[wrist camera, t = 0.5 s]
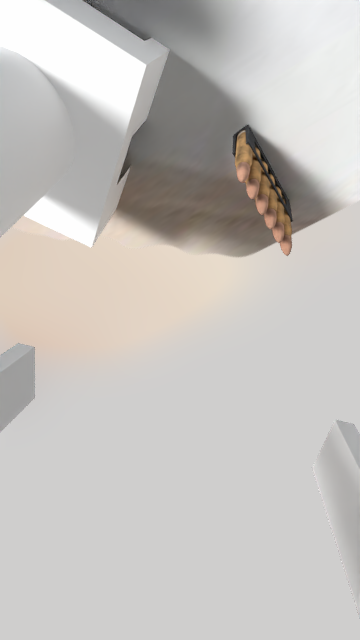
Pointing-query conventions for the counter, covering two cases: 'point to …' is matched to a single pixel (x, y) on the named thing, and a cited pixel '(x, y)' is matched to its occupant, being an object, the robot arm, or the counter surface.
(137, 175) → the counter surface
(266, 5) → the counter surface
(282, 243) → the ammunition clip
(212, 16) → the counter surface
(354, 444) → the robot arm
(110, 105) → the paper towel holder
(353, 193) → the counter surface
